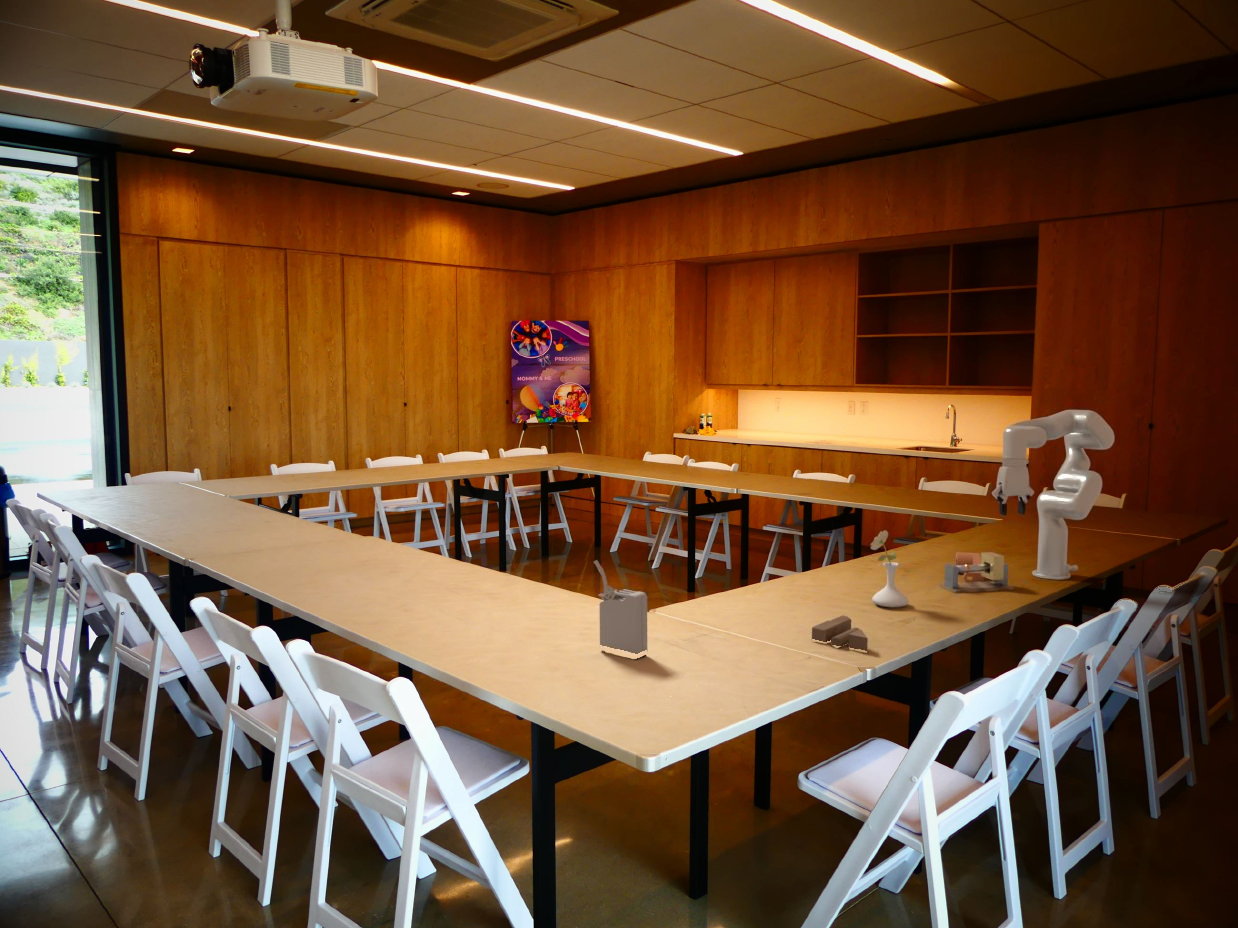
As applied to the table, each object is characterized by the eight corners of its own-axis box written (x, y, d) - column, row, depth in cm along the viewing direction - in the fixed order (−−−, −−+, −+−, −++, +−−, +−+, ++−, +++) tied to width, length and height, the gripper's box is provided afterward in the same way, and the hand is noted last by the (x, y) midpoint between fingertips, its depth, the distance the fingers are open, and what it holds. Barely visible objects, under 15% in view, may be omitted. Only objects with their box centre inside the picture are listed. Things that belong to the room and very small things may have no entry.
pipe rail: (998, 584, 309) (999, 561, 308) (1007, 587, 304) (1008, 564, 303) (944, 587, 305) (945, 563, 305) (952, 591, 300) (953, 566, 300)
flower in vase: (893, 599, 290) (895, 525, 288) (916, 607, 280) (918, 531, 277) (860, 603, 286) (862, 528, 283) (882, 612, 275) (884, 534, 272)
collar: (990, 574, 310) (991, 552, 309) (1003, 579, 302) (1004, 556, 302) (980, 575, 309) (981, 552, 308) (992, 580, 302) (993, 556, 301)
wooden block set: (809, 624, 245) (841, 610, 258) (809, 643, 245) (841, 629, 259) (865, 635, 233) (895, 621, 247) (865, 656, 234) (895, 640, 247)
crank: (955, 570, 332) (955, 550, 332) (977, 571, 330) (978, 551, 329) (959, 582, 313) (960, 561, 312) (983, 584, 311) (984, 562, 310)
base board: (995, 582, 312) (995, 580, 312) (1013, 589, 302) (1013, 587, 302) (939, 586, 308) (939, 583, 308) (955, 593, 298) (955, 590, 298)
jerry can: (592, 649, 240) (590, 560, 237) (603, 645, 244) (602, 557, 241) (636, 661, 230) (635, 568, 228) (647, 656, 234) (647, 564, 232)
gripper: (1029, 461, 308) (1027, 511, 310) (985, 462, 305) (983, 513, 307) (1043, 463, 301) (1041, 515, 303) (998, 465, 298) (996, 517, 299)
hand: (1012, 513), depth 305 cm, fingers open, 6 cm apart
